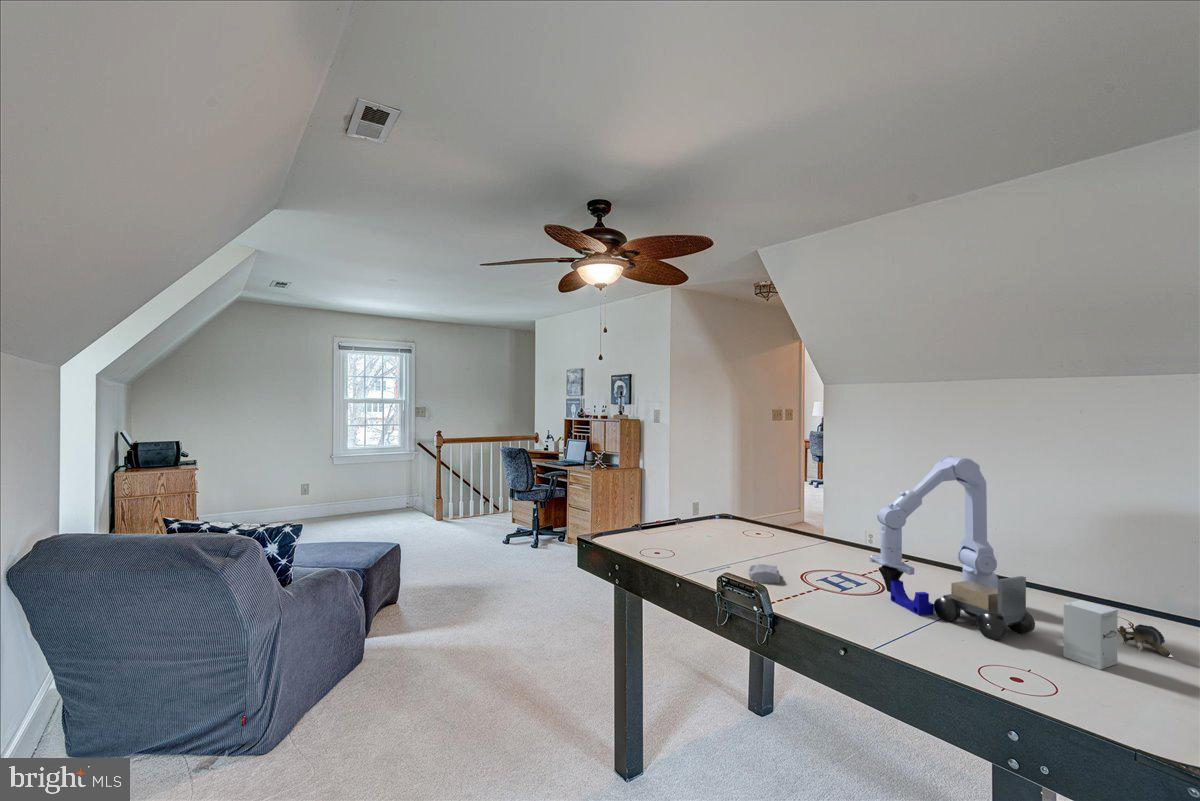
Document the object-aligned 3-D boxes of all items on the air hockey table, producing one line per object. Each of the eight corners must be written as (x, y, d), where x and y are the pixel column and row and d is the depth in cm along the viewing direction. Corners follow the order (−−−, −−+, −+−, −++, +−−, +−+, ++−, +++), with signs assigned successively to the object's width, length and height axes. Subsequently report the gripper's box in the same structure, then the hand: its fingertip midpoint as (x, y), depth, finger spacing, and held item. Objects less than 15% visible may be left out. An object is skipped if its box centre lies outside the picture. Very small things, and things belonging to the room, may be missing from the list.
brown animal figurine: (1113, 642, 131) (1164, 650, 124) (1113, 614, 134) (1163, 619, 127) (1127, 655, 134) (1178, 663, 126) (1127, 626, 137) (1177, 633, 129)
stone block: (752, 588, 178) (782, 584, 176) (749, 573, 178) (779, 569, 176) (749, 578, 189) (778, 574, 188) (746, 564, 190) (775, 561, 188)
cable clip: (933, 614, 151) (933, 593, 151) (919, 615, 150) (919, 594, 150) (904, 599, 163) (904, 579, 163) (890, 600, 162) (890, 580, 162)
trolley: (966, 611, 154) (966, 558, 154) (1035, 636, 137) (1035, 577, 137) (933, 616, 150) (933, 562, 150) (1000, 643, 133) (1000, 582, 133)
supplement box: (1101, 670, 119) (1101, 613, 119) (1062, 656, 126) (1061, 602, 126) (1119, 664, 122) (1119, 609, 122) (1079, 651, 129) (1079, 598, 129)
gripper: (862, 542, 170) (862, 585, 170) (901, 554, 156) (901, 600, 156) (879, 540, 173) (879, 583, 172) (919, 552, 159) (919, 598, 159)
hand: (891, 591), depth 164 cm, fingers closed
